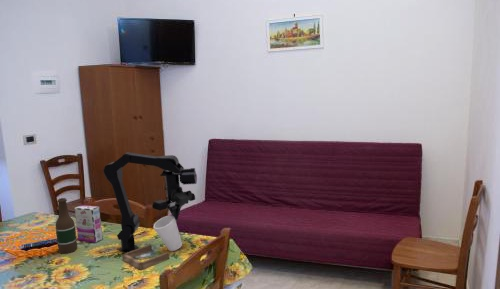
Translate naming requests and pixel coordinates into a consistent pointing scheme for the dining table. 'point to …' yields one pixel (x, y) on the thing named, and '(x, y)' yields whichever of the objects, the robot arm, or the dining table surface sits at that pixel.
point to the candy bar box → (88, 223)
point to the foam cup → (168, 232)
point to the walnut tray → (142, 265)
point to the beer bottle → (65, 229)
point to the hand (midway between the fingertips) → (176, 219)
